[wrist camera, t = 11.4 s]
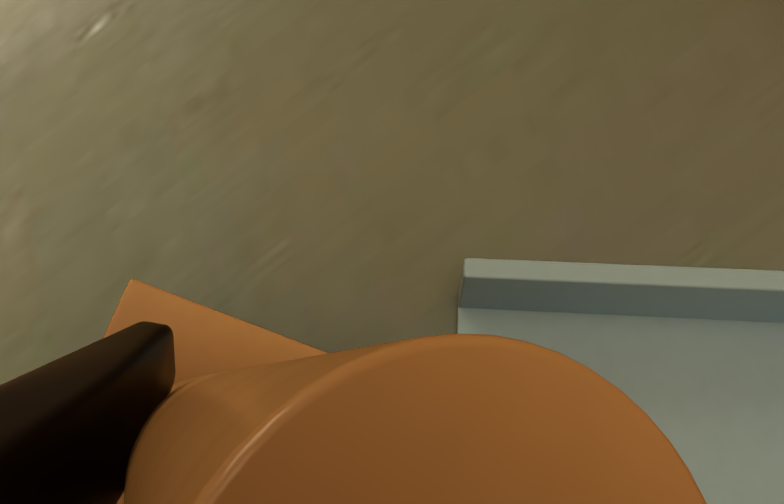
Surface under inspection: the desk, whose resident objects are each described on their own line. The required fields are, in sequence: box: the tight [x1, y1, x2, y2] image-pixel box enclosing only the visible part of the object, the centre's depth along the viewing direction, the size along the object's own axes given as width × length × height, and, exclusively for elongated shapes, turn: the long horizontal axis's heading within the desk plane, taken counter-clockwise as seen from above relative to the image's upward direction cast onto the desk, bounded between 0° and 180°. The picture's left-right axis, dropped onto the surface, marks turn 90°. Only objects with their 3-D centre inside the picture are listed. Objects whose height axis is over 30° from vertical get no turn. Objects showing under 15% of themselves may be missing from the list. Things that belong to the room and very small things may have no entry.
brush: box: [103, 279, 707, 504], centre depth 10 cm, size 5×5×15 cm
